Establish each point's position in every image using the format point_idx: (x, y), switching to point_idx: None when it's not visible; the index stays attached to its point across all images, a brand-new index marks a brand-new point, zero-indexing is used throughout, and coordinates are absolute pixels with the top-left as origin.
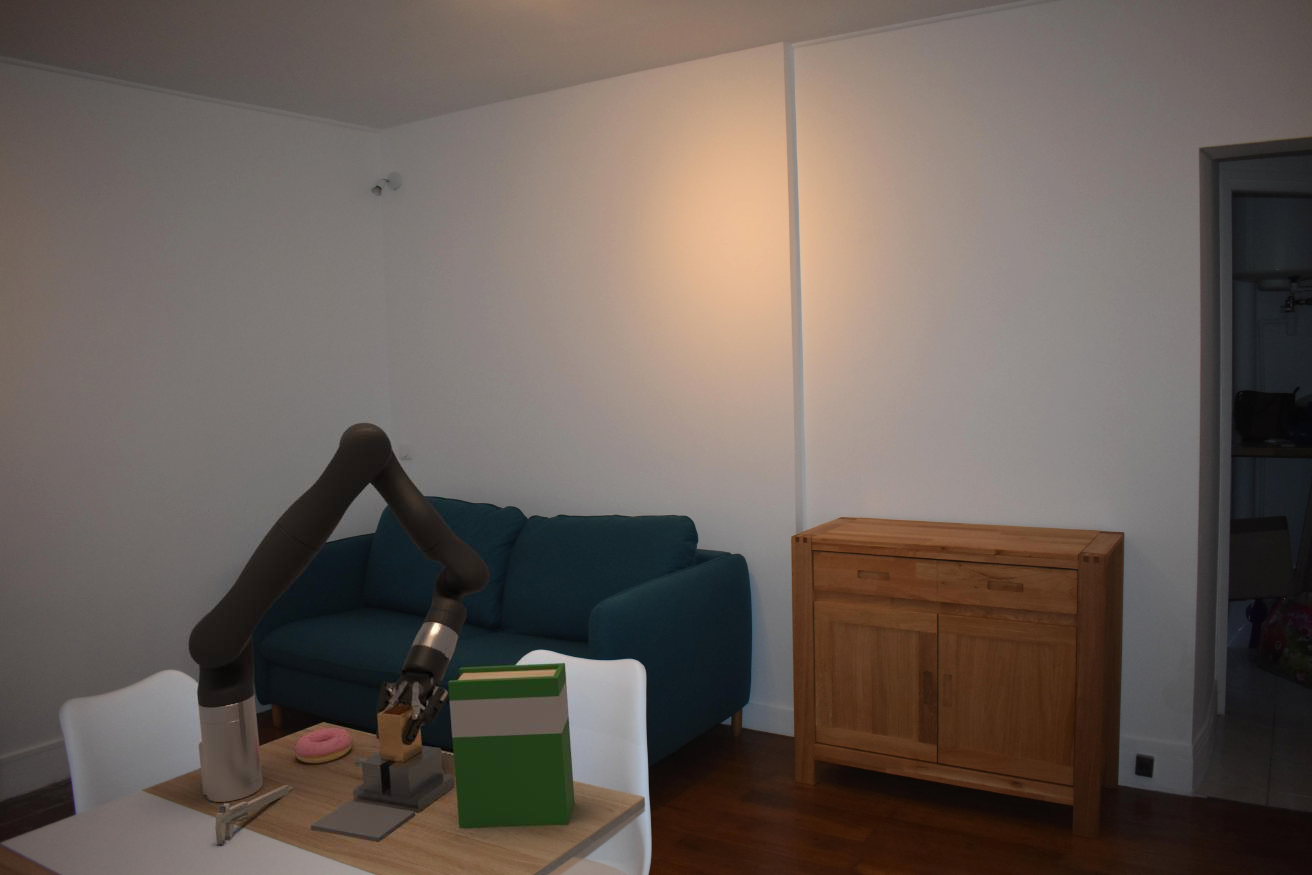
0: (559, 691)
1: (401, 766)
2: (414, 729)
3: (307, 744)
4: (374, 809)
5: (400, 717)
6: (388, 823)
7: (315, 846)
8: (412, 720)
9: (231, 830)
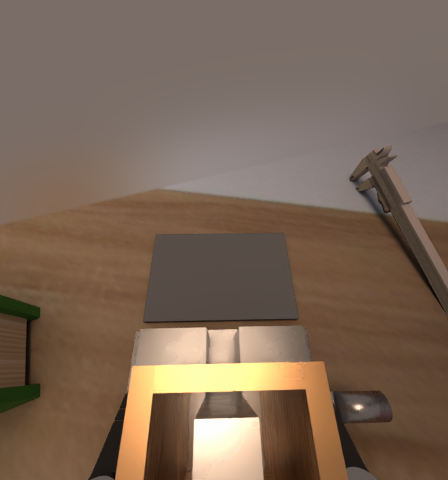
0: None
1: (170, 338)
2: (110, 430)
3: None
4: (225, 304)
5: (134, 370)
6: (166, 271)
7: (235, 205)
8: (115, 471)
9: (364, 185)
